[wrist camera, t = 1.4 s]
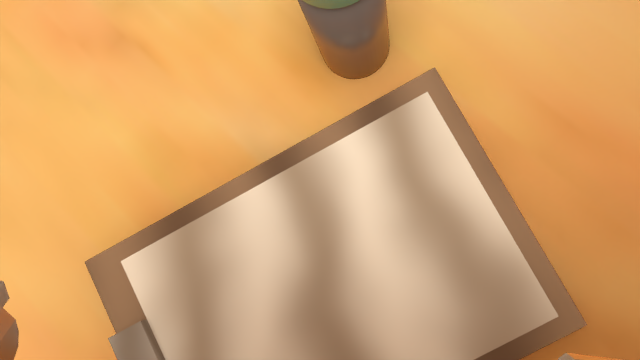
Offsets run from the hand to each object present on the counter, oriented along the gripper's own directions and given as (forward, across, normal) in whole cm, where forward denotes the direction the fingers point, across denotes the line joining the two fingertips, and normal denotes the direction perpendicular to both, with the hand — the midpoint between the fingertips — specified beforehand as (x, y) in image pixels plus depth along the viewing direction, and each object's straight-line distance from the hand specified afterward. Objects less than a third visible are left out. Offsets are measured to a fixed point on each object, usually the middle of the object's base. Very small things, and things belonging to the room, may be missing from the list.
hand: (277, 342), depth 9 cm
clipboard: (+17, 0, +16) cm, 23 cm away
